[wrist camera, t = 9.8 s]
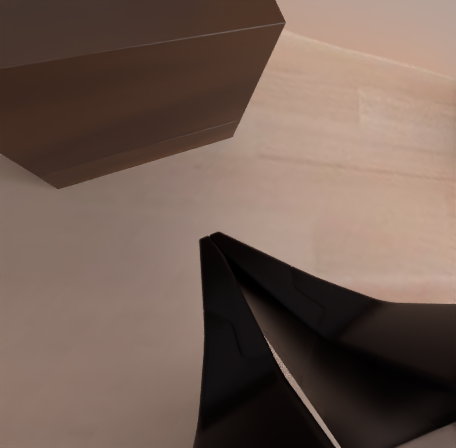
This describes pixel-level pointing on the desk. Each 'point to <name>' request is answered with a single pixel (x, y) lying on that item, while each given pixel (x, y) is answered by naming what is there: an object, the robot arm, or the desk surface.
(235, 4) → the walnut bookend
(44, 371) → the desk surface
